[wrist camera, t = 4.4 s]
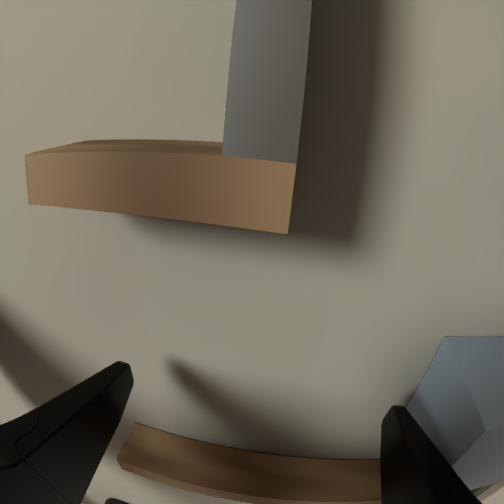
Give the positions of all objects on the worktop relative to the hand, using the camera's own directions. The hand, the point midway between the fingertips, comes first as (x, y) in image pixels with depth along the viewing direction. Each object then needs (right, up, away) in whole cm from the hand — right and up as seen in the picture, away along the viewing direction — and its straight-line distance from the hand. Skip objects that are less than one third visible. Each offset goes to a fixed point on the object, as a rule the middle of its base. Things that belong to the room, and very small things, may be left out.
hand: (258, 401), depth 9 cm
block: (+9, -1, 0) cm, 9 cm away
